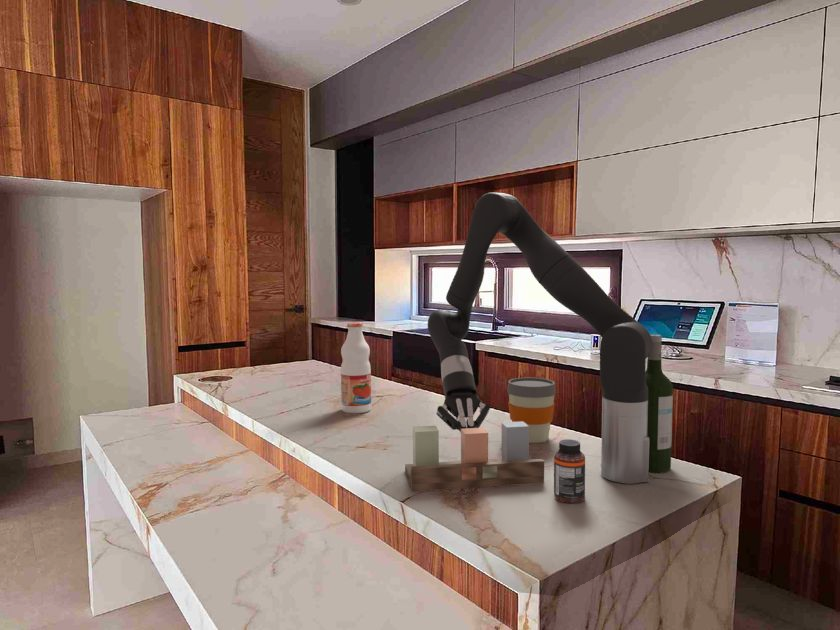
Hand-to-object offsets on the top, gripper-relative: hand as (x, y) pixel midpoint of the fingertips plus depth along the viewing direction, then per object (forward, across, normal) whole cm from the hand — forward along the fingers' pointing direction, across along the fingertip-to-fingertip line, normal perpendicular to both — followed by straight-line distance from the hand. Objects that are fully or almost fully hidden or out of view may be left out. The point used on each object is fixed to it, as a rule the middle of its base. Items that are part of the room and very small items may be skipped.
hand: (469, 444), depth 126 cm
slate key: (+4, +10, +3) cm, 11 cm away
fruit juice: (-38, -23, +48) cm, 65 cm away
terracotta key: (+6, 0, +1) cm, 6 cm away
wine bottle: (+7, +41, +2) cm, 42 cm away
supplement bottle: (+16, +16, -7) cm, 24 cm away
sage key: (+4, -10, +3) cm, 11 cm away
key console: (+6, 0, +3) cm, 7 cm away
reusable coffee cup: (-11, +22, +21) cm, 33 cm away
